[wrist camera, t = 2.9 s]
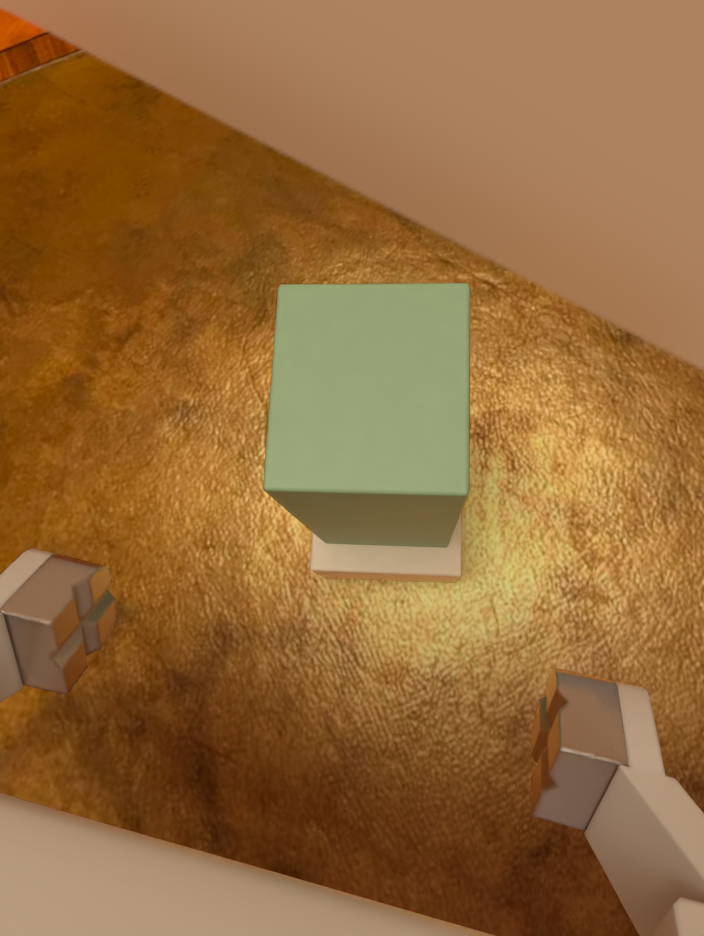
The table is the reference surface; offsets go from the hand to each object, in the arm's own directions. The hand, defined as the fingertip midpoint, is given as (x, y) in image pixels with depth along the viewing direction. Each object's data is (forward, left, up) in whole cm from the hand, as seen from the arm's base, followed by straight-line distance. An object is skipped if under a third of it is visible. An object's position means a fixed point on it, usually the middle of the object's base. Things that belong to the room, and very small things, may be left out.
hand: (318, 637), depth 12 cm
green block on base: (-1, -4, -10) cm, 11 cm away
